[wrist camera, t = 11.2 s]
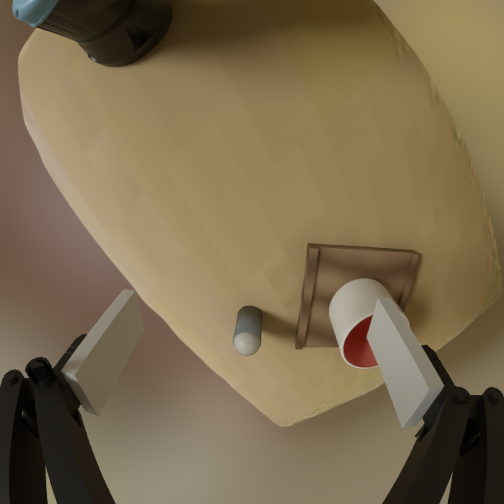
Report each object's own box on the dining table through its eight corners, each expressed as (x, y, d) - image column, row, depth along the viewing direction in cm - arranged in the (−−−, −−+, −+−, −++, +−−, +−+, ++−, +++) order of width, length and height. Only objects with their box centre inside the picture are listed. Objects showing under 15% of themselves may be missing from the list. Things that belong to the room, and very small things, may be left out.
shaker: (237, 305, 44) (231, 339, 35) (262, 306, 44) (261, 341, 35) (237, 325, 45) (231, 360, 37) (261, 326, 45) (259, 362, 37)
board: (307, 243, 39) (310, 248, 38) (413, 250, 39) (419, 254, 37) (294, 341, 46) (295, 349, 44) (387, 340, 45) (390, 346, 43)
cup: (326, 331, 43) (337, 373, 34) (328, 278, 40) (343, 315, 30) (381, 324, 42) (402, 362, 33) (388, 271, 39) (416, 304, 29)
